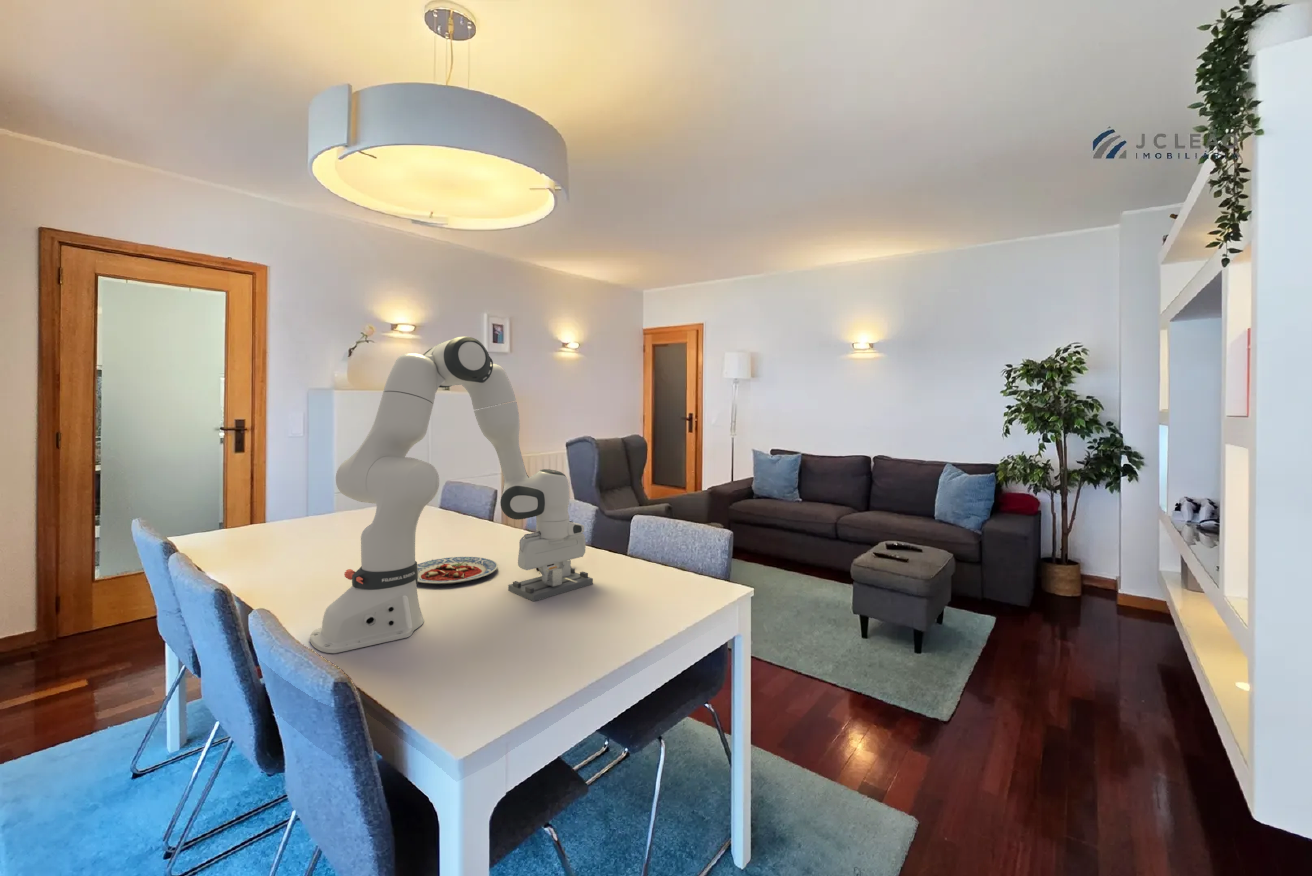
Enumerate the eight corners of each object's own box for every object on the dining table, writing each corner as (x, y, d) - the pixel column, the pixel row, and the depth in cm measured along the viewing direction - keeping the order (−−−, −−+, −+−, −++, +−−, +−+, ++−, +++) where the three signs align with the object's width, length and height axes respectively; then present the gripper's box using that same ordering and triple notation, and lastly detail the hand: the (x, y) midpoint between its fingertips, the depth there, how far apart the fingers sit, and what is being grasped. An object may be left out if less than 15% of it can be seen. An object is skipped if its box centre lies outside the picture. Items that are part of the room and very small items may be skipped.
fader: (552, 586, 147) (552, 569, 147) (543, 583, 150) (543, 566, 149) (561, 584, 149) (561, 567, 149) (552, 580, 152) (552, 564, 152)
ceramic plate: (469, 593, 148) (468, 582, 148) (385, 586, 153) (385, 575, 153) (512, 566, 173) (512, 557, 173) (439, 561, 178) (439, 552, 178)
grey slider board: (533, 601, 141) (533, 578, 141) (508, 590, 150) (508, 569, 149) (592, 583, 156) (592, 563, 156) (566, 574, 164) (566, 555, 164)
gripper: (526, 537, 139) (526, 590, 140) (589, 525, 154) (588, 573, 155) (513, 533, 143) (513, 585, 144) (574, 521, 158) (574, 568, 159)
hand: (552, 578), depth 149 cm, fingers closed on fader, 3 cm apart
